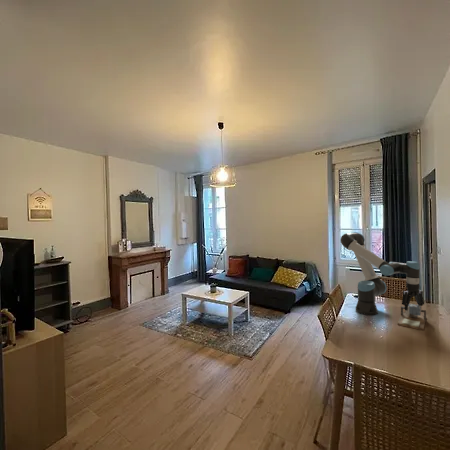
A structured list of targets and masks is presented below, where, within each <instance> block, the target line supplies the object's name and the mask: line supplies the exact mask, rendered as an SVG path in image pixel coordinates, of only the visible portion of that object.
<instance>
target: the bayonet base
mask: <svg viewBox="0 0 450 450" xmlns="http://www.w3.org/2000/svg"><path fill="white" fill-rule="evenodd" d="M404 310H405V306H404V305H403V306H400V317H399V320H398V321H397V325H398V326H401V327H402V326H403V327H407V328H411V329H416V330H421V331H424V330H425V327H426V326H425V325H426V320H427V310H425V309H421V313H423V315H422V314H421V315H420V316H418V315H413V314H409V316H408V315H406V314H405V312H404Z"/></svg>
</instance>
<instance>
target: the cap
mask: <svg viewBox="0 0 450 450" xmlns="http://www.w3.org/2000/svg"><path fill="white" fill-rule="evenodd" d="M408 306H409V314H413V315H418V316H420V306H418V304H414V303H413V304H412V303H409V305H408Z"/></svg>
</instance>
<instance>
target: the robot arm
mask: <svg viewBox="0 0 450 450" xmlns="http://www.w3.org/2000/svg"><path fill="white" fill-rule="evenodd" d="M365 241H366V239H365V236H364V235H363V234H361V233H360V232H348V233H344V234H342V235H341V237H340V244H341V245H342V247H344V248H345V249H346V250H348V251H351V252H353V253H354V256H355V258H356V260H357V263H358V265H359V267H360V269H361V272H362V274H363V276H364V280H360V281H359V282H357V303H356V306H355V312H357V314H358V313H359V314H361V315H366V316H376V315H378V313H379V312H378V311H379V310H378V308H377V305H376V297H379V296H381V295H383V294H385V293H386V292H387V287H388V286H387V284H386V283H385V282H384V281H385V280H382V279H381V278H380V276H378V275H377V273H376V272H375V269H374V267H375V268H377V269H378V271H379V272H380V274H382V276H391V275H394V274H395V275H396V274H403V275H404V274H405V275H406V279H405V280H406V281H405V282H406V283H405V284H406V291H405V290H403V291H402V294H403V295H402V300H401V305H403V307H405V309H404V310H405V314H406V315H408V316H409V306H408V305H409V304H411V300H412V298H413V297H414V299H415V301H416V305H418V306H420V315H422V312H421V310H422V307H423V306H424V305H425V299H424V294H423V293H424V291H423V290H421V289H420V269H421V268H420V263H419V262H418V261H412V260H411V261H409V260H408V261H406V263H405V262H404V263H403V262H396V261H389V262H387V261H386V260H384V259H382V258H381V257H380V256H378V255H376V254H375V253H374V252H372V251H371V250H369V249H367V248H365V246H366V245H365ZM373 266H374V267H373Z"/></svg>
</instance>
